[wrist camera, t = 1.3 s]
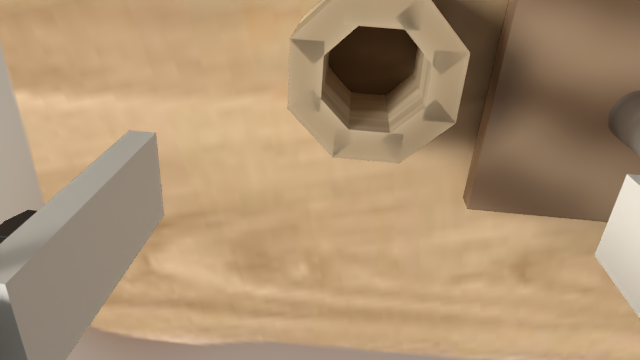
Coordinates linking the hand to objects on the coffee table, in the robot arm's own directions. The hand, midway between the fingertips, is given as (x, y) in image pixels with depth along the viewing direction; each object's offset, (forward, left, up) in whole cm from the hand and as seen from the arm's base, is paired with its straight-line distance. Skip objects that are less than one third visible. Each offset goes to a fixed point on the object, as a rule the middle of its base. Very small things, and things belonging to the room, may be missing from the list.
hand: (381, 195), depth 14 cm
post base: (+2, +15, -16) cm, 22 cm away
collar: (0, 0, -16) cm, 16 cm away
